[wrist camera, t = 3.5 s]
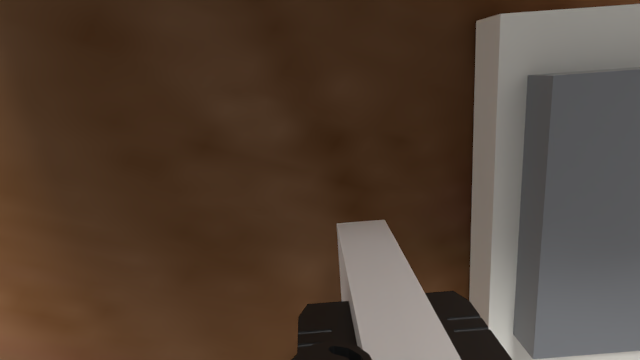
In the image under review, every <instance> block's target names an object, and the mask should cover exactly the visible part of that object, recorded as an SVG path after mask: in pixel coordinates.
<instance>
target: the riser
mask: <svg viewBox="0 0 640 360" xmlns="http://www.w3.org/2000/svg"><path fill="white" fill-rule="evenodd" d="M633 67H640V4H630V5H616V6H602V7H588V8H574V9H560V10H546V11H532V12H518V13H504V14H498V15H495V16H491V17H488V18H485V19H481V20H478V21H476V48H475V88H474V128H473V168H472V209H471V249H470V289H469V301H470V302H471V304H472V305H473V306H474V308H475V309H476V310H477V312H478V313H479V315H480V318H482V319H483V320H484V321H485V323H486V324H487V326H488V328H489V330H491V331H492V332H493V334H494V335H495V337H496V338H497V339H498V341H499V342H500V343H501V345H502V346H503V348H504V349H505V350H506V352H507V353H508V354H509V356H510V357H511V359H512V360H640V351H630V352H618V353H605V354H593V355H581V356H568V357H556V358H544V359H532V358H531V356H530V355H529V354H528V352H527V351H526V350H525V349H524V347H523V346H522V345H521V343H520V342H519V341H518V340H517V338H516V337H515V336H514V335H513V326H514V308H515V291H516V273H517V255H518V238H519V220H520V202H521V185H522V167H523V149H524V132H525V114H526V96H527V78H528V75H537V74H551V73H564V72H578V71H592V70H605V69H619V68H633Z"/></svg>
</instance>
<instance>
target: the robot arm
mask: <svg viewBox="0 0 640 360" xmlns="http://www.w3.org/2000/svg"><path fill="white" fill-rule="evenodd" d="M337 238H338V253H339V269H340V284H341V300H342V301H341V302H329V303H317V304H307V306H306V307H305V309H304V310H303V312H302V313H301V314H300V316H299V319H298V351H297V355H296V356H295V357H294V358H293V359H292V360H512V359H511V357H510V356H509V354H508V353H507V352H506V350H505V349H504V348H503V346H502V345H501V343H500V342H499V341H498V339H497V338H496V337H495V335H494V334H493V332H492V331H491V330H489V328H488V326H487V324H486V323H485V321H484V320H483V319H482V318H480V315H479V313H478V312H477V310H476V309H475V308H474V306H473V305H472V304H471V302H470V301H468V300H467V299H465V298H464V297H462V296H461V295H459V294H457V293H456V292H454V291H446V292H434V293H425V292H424V291H423V289H422V287H421V285H420V283H419V281H418V280H417V278H416V276H415V274H414V272H413V270H412V269H411V267H410V265H409V263H408V261H407V260H406V258H405V256H404V254H403V252H402V250H401V249H400V247H399V245H398V243H397V241H396V239H395V238H394V236H393V234H392V232H391V230H390V228H389V227H388V225H387V223H386V221H385V220H373V221H360V222H347V223H337Z"/></svg>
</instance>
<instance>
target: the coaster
mask: <svg viewBox="0 0 640 360" xmlns="http://www.w3.org/2000/svg"><path fill="white" fill-rule="evenodd" d="M513 335H514V336H515V337H516V338H517V340H518V341H519V342H520V343H521V345H522V346H523V347H524V349H525V350H526V351H527V352H528V354H529V355H530V356H531V358H532V359H544V358H556V357H568V356H581V355H593V354H605V353H618V352H630V351H640V67H633V68H619V69H605V70H592V71H578V72H564V73H551V74H537V75H528V78H527V96H526V114H525V132H524V149H523V167H522V185H521V202H520V220H519V238H518V255H517V273H516V291H515V308H514V326H513Z"/></svg>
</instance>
